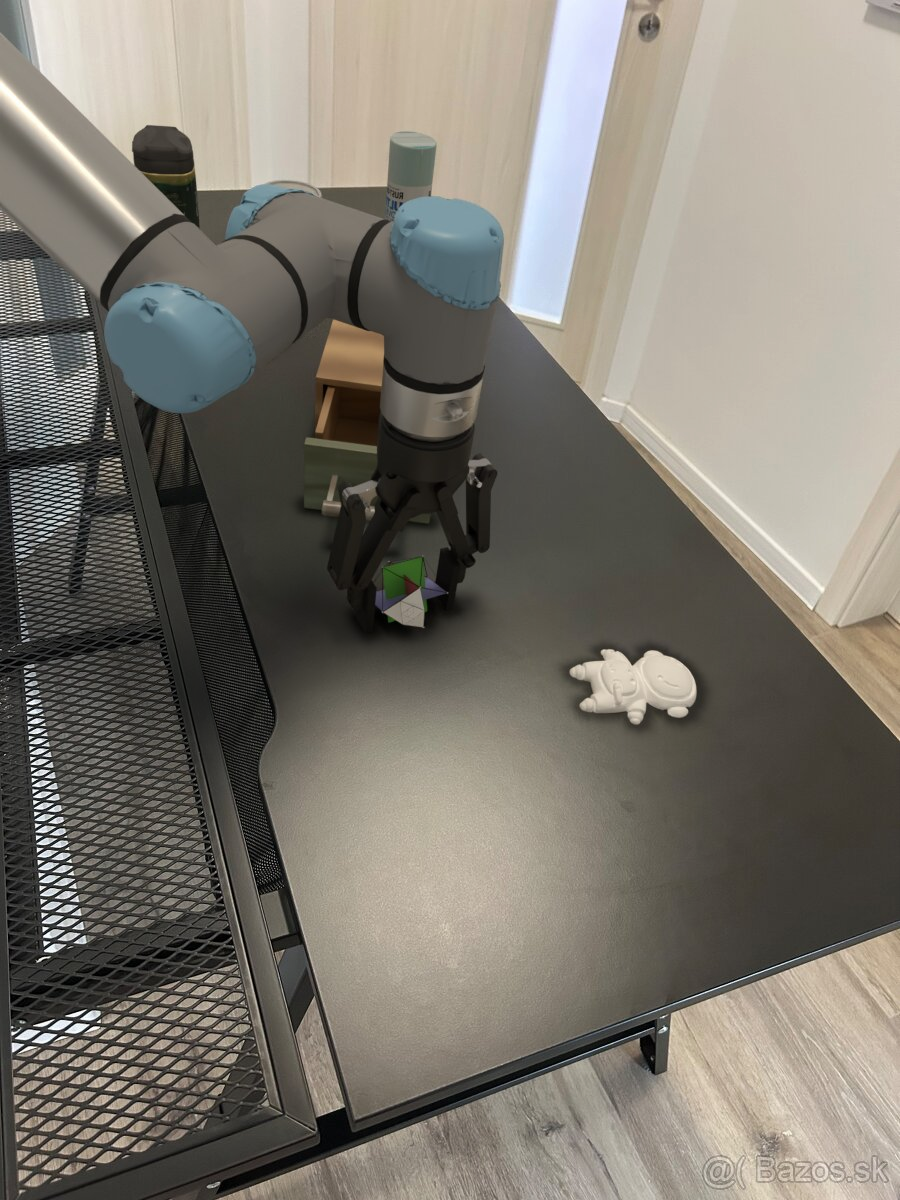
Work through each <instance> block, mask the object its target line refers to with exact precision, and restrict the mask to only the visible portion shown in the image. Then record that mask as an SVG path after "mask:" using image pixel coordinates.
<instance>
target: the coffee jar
mask: <svg viewBox="0 0 900 1200" xmlns="http://www.w3.org/2000/svg"><path fill="white" fill-rule="evenodd" d="M191 141H192V140H191V139H190V137H188V135H186V134H185V133H184V132H183V131H181V130H179V129H178V127H177V126H171V125H170V126H168V125H154V124H147V125H145V126H144V127H143V128H142V129H140V130H138V131H137V132H136V133H135V134H134V136H133V139H132V142H131V143H132V144H131V152H132V157H133V165H134V166H135V167H136V168H137V169H138V170H139V171H140V172H141V173H142V174H143V175H144V176H145V177H146V178H147V179H148V180H149V181H150V182H151V183H152V184H153V185H154V186H155V187H156V188H157V189H158V190H159V191H160V192H161V193H162V194H163V195H164V196H165V197H166V198H167V199H168V200H169V201H170V202H171V203H172V204H173V205H174V206H175V207H177V208H178V209H179V210H180V211H181V212H182V213H183V214H184V215H185V216H186V217H187V218H188V219H189V220H190V221H191V222H192V223H193V224H195V225H196V226H197V227H198V228H199V229H200V227H201V226H200V212H199V211H200V209H199V198H198V186H197V175H196V166H195V159H194V158H195V157H194V150H193V145H192V142H191ZM200 230H201V229H200Z"/></svg>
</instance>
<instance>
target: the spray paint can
mask: <svg viewBox="0 0 900 1200" xmlns="http://www.w3.org/2000/svg"><path fill="white" fill-rule="evenodd" d="M388 148H389V150H388V164H387V165H388V166H387V182H386V183H387V184H386V185H387V186H386V198H385V199H386V201H385V215H384V219H386V220H389V221H394V217H395V214H396V212H397V210H398V209H399V207H400V206H401V205H403V204H404V203H406V202H407V201H409V200H412V199H416V198H419V197H426V196H432V189H433V182H434V173H435V164H436V163H435V162H436V154H437V141H436V139H435V138H433V137H432V136H430V135H428V134H426V133H421V132H416V131H407V130H406V131H398V132H393V133H392V134H391V135H390V137H389V147H388Z"/></svg>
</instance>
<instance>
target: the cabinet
mask: <svg viewBox="0 0 900 1200" xmlns="http://www.w3.org/2000/svg"><path fill="white" fill-rule="evenodd" d="M383 360H384V336H383V335H381V334H379V333H375V332H373V331H366V330H363V329H360V328H357V327H354V326H352V325H349V324H346V323H343V322H340V321H337V320H334V319H332V322H331V326H330V328H329V332H328V335H327V338H326V342H325V345H324V348H323V352H322V355H321V359H320V362H319V365H318V369H317V371H316V375H315V403H314V406H315V408H314V410H315V412H314V416H315V417H314V432H315V431H316V428H317V424H318V420H319V417H320V413H321V410H322V406H323V402H324V399H325V395H326V392H327V388H328V385H333V386H340V387H348V388H355V389H362V390H370V391H377V392H381V386H382V374H383Z"/></svg>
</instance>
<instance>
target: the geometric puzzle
mask: <svg viewBox="0 0 900 1200" xmlns="http://www.w3.org/2000/svg"><path fill="white" fill-rule="evenodd" d="M399 561H400V559H397V560H396V563H394V560H392V561H390V560H388V561H387V563H386V564H384V565H383V566H381V569H380V570H379V572H378V574H377V575H376V577H375V579H374V580H373V583H375V582H376V581H377V579H378V578H379V577H380V575H381V574H382V575H381V590H378V591H377V590H376V602H375V608H377V609H378V610H379V611H381V613H382V616H383V618H384V621H385V624H386V627H387V628H389V625H388V624H389V623H392V622H395V621H396V622H397V623H399V624H400V625H403V626H410V627H413V628H411V630H412V629H414V630H415V629H416V628H421V629H425V626H426V624H427V623H428V622H429V620H427V621H426V622H425V613H427V612H428V605H429V599H431V598H436V596H439V595H442V594H446V593H447V594H448V592H447V591H445V590H444V589H445V588H444V589H442V588H441V587H440V586H438V585H437V584H436V583H435V581H433V579H431V578H430V577H429V576H428V572H427V568H426V564H427V565H428V567H429V568H430V570H431V571H432V573H433V574H434V575H435V578H436V577H437V576H436V573H435V571H433V569H432V568H431V566H430V565H429V563H428V562H427V560H426V559H425V555H424V554H423V555H421V556H416V557H413V558H412V557H410V558H408V559H406V558H403V559H402V561H400V562H399ZM425 562H426V563H425ZM438 580H439V579H438ZM440 583H441V582H440ZM442 586H443V585H442ZM445 596H446V595H445ZM445 596H444V597H445ZM443 599H444V598H443ZM443 599H442V600H443ZM442 600H441V602H442ZM440 604H441V603H440V602H439V603H438V604H437V606H436V607H435V608H434V610H433V611H432V612H431V614H432V615H431V616H430V617H429V619H431V617H432V616H433V615H434V613H435V611H436V610H437V609H438V606H440ZM375 613H376V614H377V616H378V617H380V615H379V614H378V612H377V611H375ZM385 615H386V616H387V620H386V617H385ZM414 627H415V628H414ZM402 631H406V629H405V628H404V629H402Z"/></svg>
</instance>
